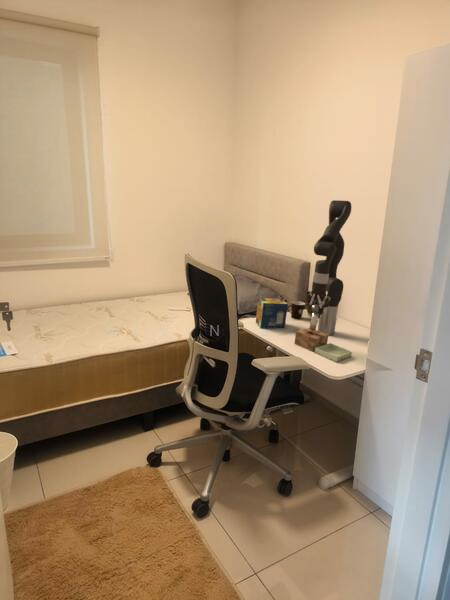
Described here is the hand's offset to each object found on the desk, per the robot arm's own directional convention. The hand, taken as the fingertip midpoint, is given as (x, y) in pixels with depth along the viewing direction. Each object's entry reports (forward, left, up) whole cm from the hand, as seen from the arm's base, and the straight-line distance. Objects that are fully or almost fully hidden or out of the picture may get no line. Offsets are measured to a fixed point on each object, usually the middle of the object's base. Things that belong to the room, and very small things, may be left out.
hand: (315, 313), depth 201 cm
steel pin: (+1, 0, -9) cm, 9 cm away
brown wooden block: (0, 0, -18) cm, 18 cm away
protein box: (-4, -33, -18) cm, 38 cm away
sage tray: (0, +14, -18) cm, 23 cm away
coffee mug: (-30, -36, -18) cm, 50 cm away
